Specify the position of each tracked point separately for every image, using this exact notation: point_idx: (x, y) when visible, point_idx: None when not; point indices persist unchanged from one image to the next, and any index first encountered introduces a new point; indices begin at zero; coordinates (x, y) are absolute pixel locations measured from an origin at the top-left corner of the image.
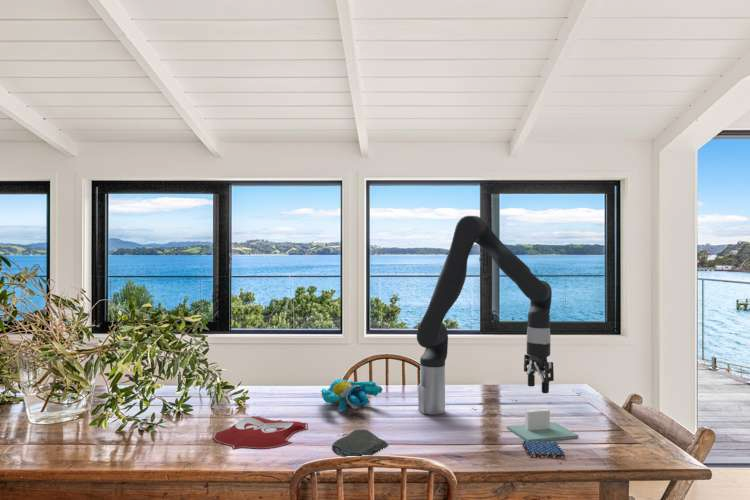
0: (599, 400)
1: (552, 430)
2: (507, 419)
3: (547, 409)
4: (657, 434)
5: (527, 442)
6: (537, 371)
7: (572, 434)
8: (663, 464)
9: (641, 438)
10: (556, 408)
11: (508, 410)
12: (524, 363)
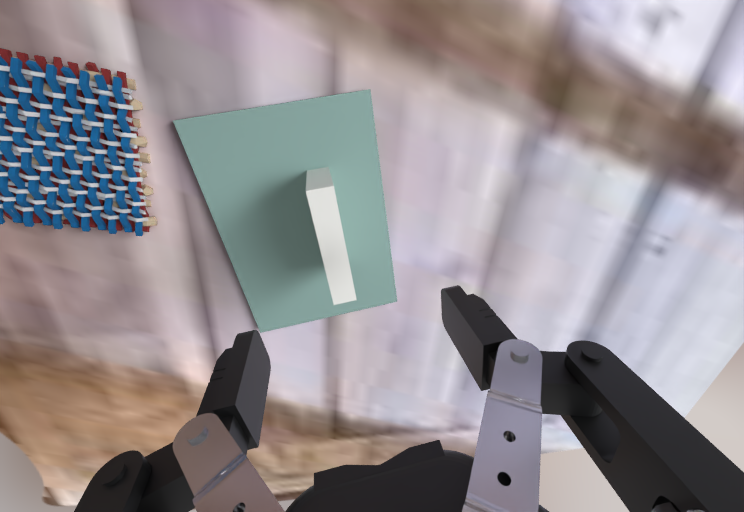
0: (554, 443)
1: (309, 267)
2: (482, 139)
3: (350, 300)
4: (302, 485)
5: (100, 95)
6: (267, 491)
7: (267, 318)
8: (62, 455)
9: (270, 456)
10: (537, 343)
11: (578, 185)
12: (678, 426)
